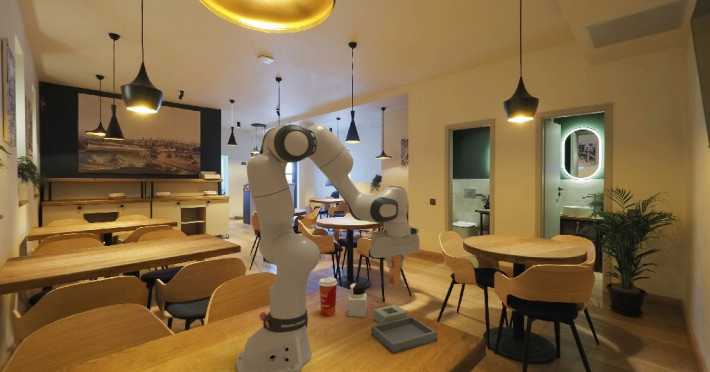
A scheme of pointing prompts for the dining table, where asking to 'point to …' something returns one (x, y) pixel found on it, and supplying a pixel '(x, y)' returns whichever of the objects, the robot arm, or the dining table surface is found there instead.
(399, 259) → the pin
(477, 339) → the dining table surface
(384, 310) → the socket block
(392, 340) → the tray
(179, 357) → the dining table surface
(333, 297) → the paper cup
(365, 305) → the medicine bottle
